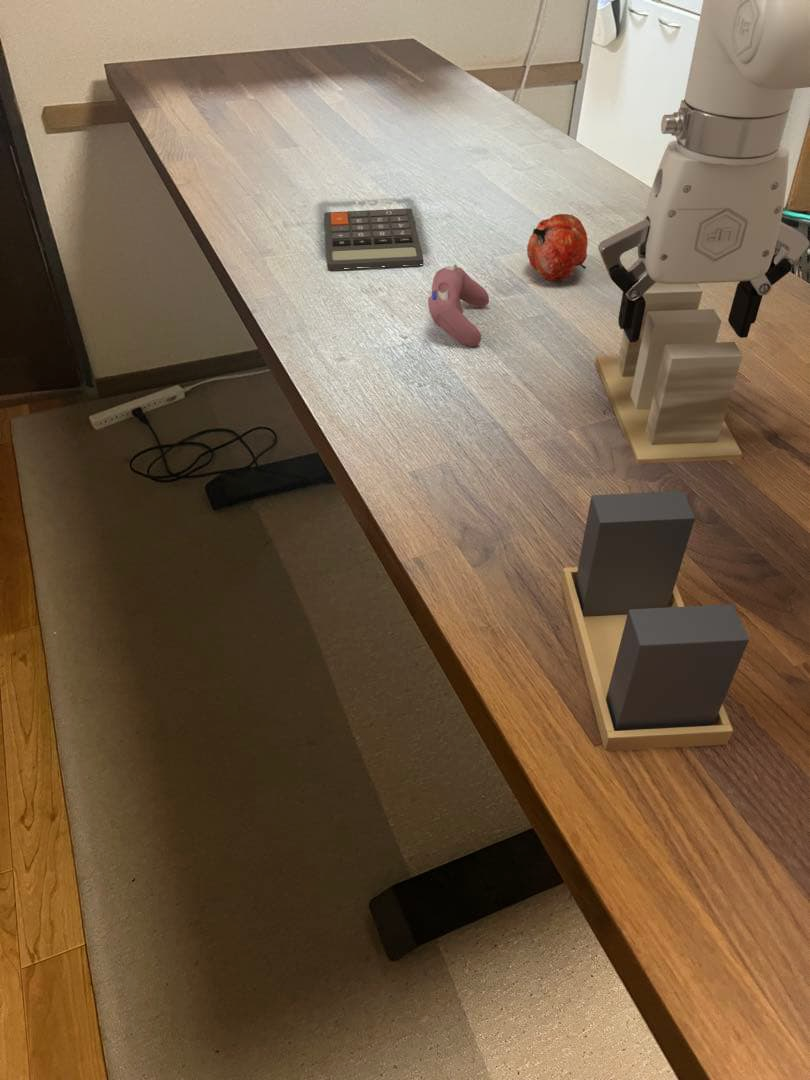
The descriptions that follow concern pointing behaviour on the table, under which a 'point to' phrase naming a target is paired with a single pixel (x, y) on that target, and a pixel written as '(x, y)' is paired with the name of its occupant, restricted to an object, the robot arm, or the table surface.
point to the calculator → (371, 239)
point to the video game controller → (456, 303)
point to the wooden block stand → (675, 390)
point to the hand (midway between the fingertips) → (683, 332)
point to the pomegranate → (558, 247)
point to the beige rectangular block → (665, 332)
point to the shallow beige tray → (598, 659)
